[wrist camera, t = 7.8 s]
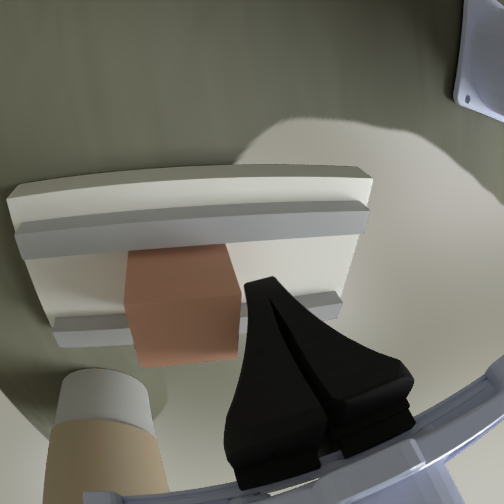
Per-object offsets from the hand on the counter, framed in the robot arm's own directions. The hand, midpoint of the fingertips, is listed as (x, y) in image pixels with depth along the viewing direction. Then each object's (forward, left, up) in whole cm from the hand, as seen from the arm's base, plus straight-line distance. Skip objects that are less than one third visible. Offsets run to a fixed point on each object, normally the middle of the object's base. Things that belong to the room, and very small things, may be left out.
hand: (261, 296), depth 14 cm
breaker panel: (+2, 0, -3) cm, 4 cm away
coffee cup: (+10, +12, -4) cm, 16 cm away
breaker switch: (+3, 0, -2) cm, 4 cm away
